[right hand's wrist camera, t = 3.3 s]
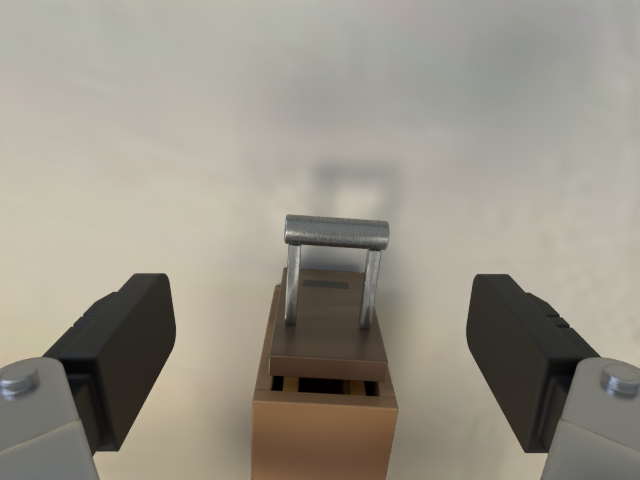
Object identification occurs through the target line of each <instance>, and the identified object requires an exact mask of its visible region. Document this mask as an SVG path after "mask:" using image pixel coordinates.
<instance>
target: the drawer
mask: <svg viewBox="0 0 640 480" xmlns="http://www.w3.org/2000/svg"><path fill="white" fill-rule="evenodd" d="M284 241H285V243H286V244H289V247H288V267H287V268H284V270H283V276H282V282H281V288H280V293H279V299H278V305H277V311H276V317H275V323H274V328H273V334H272V340H271V346H270V352H269V365H268V374H269V375H270V376H284V380H283V389H282V391H288V392H306V393H324V394H342V395H360V396H366V391H365V385H364V381H375V382H385V378H386V372H387V366H388V360H387V356H386V352H385V348H384V344H383V340H382V336H381V331H380V327H379V323H378V319H377V315H376V311H375V307H374V301H375V294H376V286H377V279H378V272H379V265H380V257H381V250H386V248H387V246H388V241H389V224H388V222H387V221H375V220H361V219H347V218H332V217H318V216H303V215H289V214H288V215H287V216H286V221H285V235H284ZM301 245H316V246H331V247H346V248H361V249H368V250H367V258H366V266H365V273H360V272H345V271H329V270H314V269H300V256H301Z"/></svg>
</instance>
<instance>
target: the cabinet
mask: <svg viewBox="0 0 640 480" xmlns="http://www.w3.org/2000/svg"><path fill="white" fill-rule="evenodd" d="M280 288H281V286H275V290H274V295H273V300H272V305H271V310H270V315H269V320H268V325H267V330H266V335H265V340H264V345H263V350H262V355H261V360H260V365H259V370H258V375H257V380H256V385H255V391H254V396H253V403H252V449H251V480H386V474H387V469H388V463H389V458H390V452H391V447H392V441H393V435H394V430H395V424H396V419H397V413H398V406H397V401H396V398H395V393H394V389H393V384H392V380H391V376H390V372H389V368H388V366H387V372H386V378H385V382H375V381H364V385H365V391H366V396H360V395H342V394H324V393H306V392H288V391H282V389H283V380H284V376H270V375H269V374H268V365H269V352H270V346H271V340H272V334H273V328H274V323H275V317H276V311H277V305H278V299H279V293H280Z"/></svg>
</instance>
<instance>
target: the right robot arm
mask: <svg viewBox="0 0 640 480" xmlns="http://www.w3.org/2000/svg"><path fill="white" fill-rule="evenodd" d="M466 336H467V343H468V347H469V350H470V352H471V354H472V355H473V357H474V359H475V361H476V363H477V365H478V367H479V368H480V370H481V372H482V374H483V376H484V378H485V380H486V381H487V383H488V385H489V387H490V389H491V391H492V393H493V394H494V396H495V398H496V400H497V402H498V404H499V406H500V407H501V409H502V411H503V413H504V415H505V417H506V419H507V421H508V422H509V424H510V426H511V428H512V430H513V432H514V434H515V435H516V437H517V439H518V441H519V443H520V445H521V447H522V448H523V450H524V452H525V453H548V457H547V460H546V463H545V466H544V470H543V473H542V476H541V479H540V480H640V369H639V368H638V367H635V366H633V365H631V364H628V363H625V362H622V361H619V360H615V359H610V358H602V357H601V356H600V355H599V354H598V353H597V352H596V351H595V350H594V349H593V348H592V347H591V346H590V345H589V344H588V343H587V342H586V341H585V340H584V339H583V338H582V337H581V336H580V335H579V334H578V333H577V332H576V331H575V330H574V329H573V328H570V325H569V324H568V323H567V322H566V321H565V320H564V319H563V318H562V317H560V315H559V314H558V313H557V312H556V311H555V310H554V309H553V308H552V307H551V306H550V305H549V304H548V303H547V302H545V301H543V300H542V299H540V298H538V297H536V296H535V295H533V294H531V293H525V292H524V291H523V290H522V289H521V287H520V286H519V285H518V284H517V283H516V282H515V281H514V280H513V279H512V278H511V277H510V276H509V275H508V274H477V275H476V276H475V278H474V281H473V285H472V292H471V299H470V306H469V312H468V319H467V326H466ZM175 337H176V324H175V317H174V310H173V303H172V296H171V289H170V283H169V279H168V277H167V275H166V274H164V273H136V274H134V275H133V276H132V277H131V278H130V279H129V280H128V281H127V282H126V283H125V284H124V285H123V286H122V288H121V289H120V290H119V291H118V292H112V293H110V294H109V295H107V296H105V297H103V298H102V299H100V300H98V301H96V302H95V303H94V304H93V305H92V306H91V307H90V308H89V309H88V310H87V311H86V312H85V313H84V314H83V317H80V318H79V319H78V320H77V321H76V322H75V323H74V326H73V327H70V328H69V329H68V330H67V331H66V332H65V333H64V334H63V336H62V337H61V338H60V339H59V340H58V341H57V342H56V343H55V344H54V345H53V346H52V347H51V348H50V349H49V350H48V351H47V352H46V353H45V354H44V355H43V356H42V357H38V358H30V359H25V360H21V361H18V362H15V363H12V364H9V365H7V366H5V367H2V368H1V369H0V480H100V479H99V476H98V473H97V470H96V466H95V463H94V460H93V456H94V454H95V452H96V451H119V449H120V447H121V445H122V444H123V442H124V440H125V438H126V436H127V434H128V432H129V430H130V429H131V427H132V425H133V423H134V421H135V419H136V417H137V415H138V413H139V412H140V410H141V408H142V406H143V404H144V402H145V400H146V398H147V397H148V395H149V393H150V391H151V389H152V387H153V385H154V383H155V381H156V380H157V378H158V376H159V374H160V372H161V370H162V368H163V366H164V365H165V363H166V361H167V359H168V357H169V355H170V353H171V351H172V349H173V347H174V343H175Z"/></svg>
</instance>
